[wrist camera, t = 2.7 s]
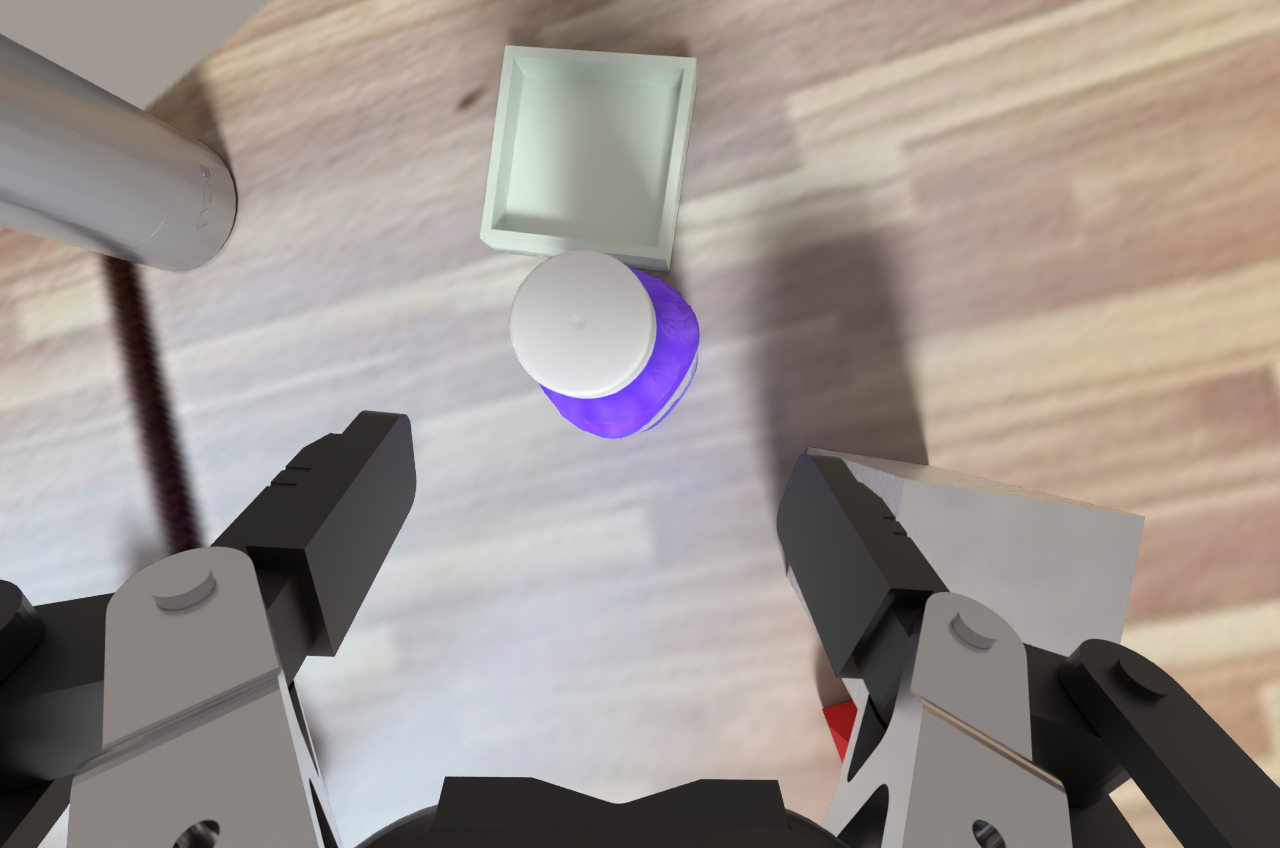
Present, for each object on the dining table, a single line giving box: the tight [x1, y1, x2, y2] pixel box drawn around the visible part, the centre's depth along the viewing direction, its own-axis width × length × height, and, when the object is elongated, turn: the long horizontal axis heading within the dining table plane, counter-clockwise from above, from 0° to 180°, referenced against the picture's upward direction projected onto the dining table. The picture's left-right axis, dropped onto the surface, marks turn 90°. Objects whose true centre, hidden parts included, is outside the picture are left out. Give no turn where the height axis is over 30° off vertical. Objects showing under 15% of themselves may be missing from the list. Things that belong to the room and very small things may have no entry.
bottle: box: [510, 250, 700, 438], centre depth 22 cm, size 7×6×17 cm
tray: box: [480, 45, 697, 272], centre depth 29 cm, size 11×11×2 cm
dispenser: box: [787, 447, 1145, 709], centre depth 22 cm, size 8×8×14 cm
